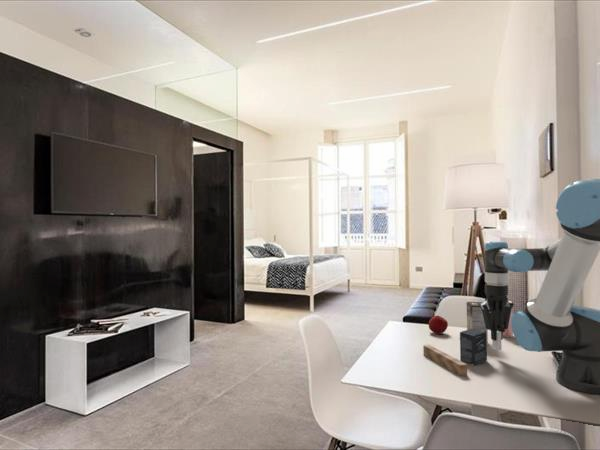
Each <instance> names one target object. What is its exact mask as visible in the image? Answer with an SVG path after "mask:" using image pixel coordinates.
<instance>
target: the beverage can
mask: <svg viewBox="0 0 600 450" xmlns="http://www.w3.org/2000/svg"><path fill="white" fill-rule="evenodd" d="M508 301H509V302H511V303H513V302H512V301H510V300H508ZM513 314H514V313H513V308H512V309H511V314H510V319H509V325H508V329H505V332H503V338H512V337H514V334H513V331H512V326H511V319H512V316H513Z"/></svg>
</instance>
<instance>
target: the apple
mask: <svg viewBox="0 0 600 450" xmlns="http://www.w3.org/2000/svg"><path fill="white" fill-rule="evenodd" d="M448 326H449V325H448V320H446V319H445V318H444V317H442V316H441V315H434V316H432V317H431V318H430V319H429V321H428V329H429V330H430V331H431V332H432V333H434V334H437V335H440V334H441V335H442V334H443V333H444V332H446V330H447V329H448Z"/></svg>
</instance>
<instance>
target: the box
mask: <svg viewBox="0 0 600 450" xmlns="http://www.w3.org/2000/svg"><path fill="white" fill-rule="evenodd" d="M487 347H488V345H487V340H486V331H483V330H478V329H469V330H467V329H465V330H462V331H460V332H459V351H460V353H459V354H460V356H459V357H460V360H459V361H461V362H463V363H465V364H467V365H468V364H469V365H471V366H477V365H479V364H482V363H485V362H487V361H488V350H487Z"/></svg>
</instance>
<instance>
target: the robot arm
mask: <svg viewBox="0 0 600 450" xmlns="http://www.w3.org/2000/svg"><path fill="white" fill-rule="evenodd" d="M555 209H556V210H557V211H556V217H557V219H558V221H559V226H560V228H561V230H562V231H563V234H562V236H561V238H559V239H558V240H556V241H555V242H553V243H551V244H549V245H548V246H546V247H544V248H509V246H508V243H507V242H506V241H486V242H485V243H484V251H483V253H484V255H483V256H484V282H485V284H484V294H485V296H486V297H485V299H484V302H483V304H482V303H480V304H479V306H480V308H481V309H482V313H483V317H484V322H485V326H486V329H487V330H489V331H490V339H491V340H492V349H493V350H494V349H495V350H497V351H501V350H502V340H503V339H504V337H503V332H505V329H508V325H509V319H510V314H511V309H512V310H513V307H514V305H515V304H514V303H513V302H512V301H510V300H509V298H508V295H509V285H508V284H509V271H510V272H513V273H526V272H534V271H538V272H539V271H540V272H541V271H542V272H543V271H544V272H545V271H546V274H545V277H544V278H543V279H544V280H543V281H542V284H541V286H540V288H539V291H538V294H537V295H536V298H532V299H530V300H529V301H528V302H527V303H526V304H527V305H526V307H525V309H524V310H523V311H522V310H518V311H515V312H514V313H513V316H512V319H511V326H512V331H513V337H514V339H515V340H516V342H517V344H518V345H519V346H520V347H521V348H522V349H524V350H525V351H528V352H537V353H541V352H542V353H543V352H562V355H561V358H560V361H559V364H558V366H557V369H556V371H555V379H556V381H557V382H558V383H559V384H560V385H562V386H564V387H567V388H569V389H571V390H575V391H579V392H582V393H588V394H593V395H600V309H596V308H592V307H587V306H581V305H575V302H576V300H577V299H578V296H579V294H580V292H581V290H582V288H583V287H584V284H585V281H586V279H587V278H588V276H589V273H590V272H591V269H592V267H593V266H594V263H595V261H596V259H597V257H598V255H599V253H600V178H593V179H592V178H591V179H585V180H577V181H575V182H572V183H569V184H568V185H567V186H565V188H564V189H563V190H562V191H561V193H560V194H559V196H558V197H557V201H556V205H555ZM509 301H510V302H509ZM511 302H512V303H511Z"/></svg>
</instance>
